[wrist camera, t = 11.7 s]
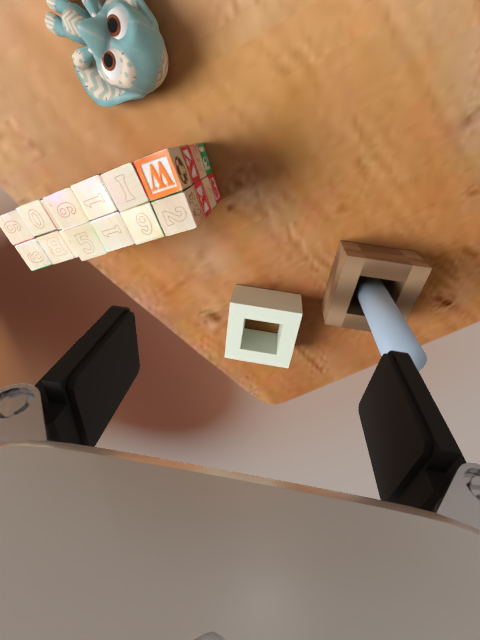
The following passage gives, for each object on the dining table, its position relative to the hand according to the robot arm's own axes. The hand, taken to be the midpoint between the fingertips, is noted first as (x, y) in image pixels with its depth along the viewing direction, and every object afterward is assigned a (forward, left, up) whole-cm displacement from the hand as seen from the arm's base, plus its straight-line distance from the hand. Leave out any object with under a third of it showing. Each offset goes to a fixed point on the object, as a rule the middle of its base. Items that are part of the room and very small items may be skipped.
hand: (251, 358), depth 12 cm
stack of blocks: (+2, -17, -29) cm, 34 cm away
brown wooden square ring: (+8, +13, -28) cm, 32 cm away
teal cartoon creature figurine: (-12, -17, -29) cm, 36 cm away
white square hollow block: (+16, +1, -28) cm, 33 cm away
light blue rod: (+8, +13, -28) cm, 32 cm away
